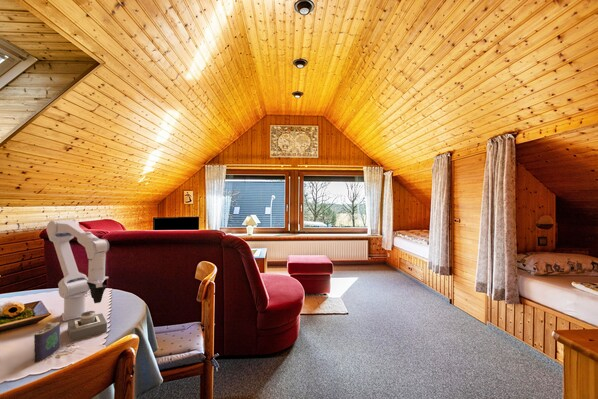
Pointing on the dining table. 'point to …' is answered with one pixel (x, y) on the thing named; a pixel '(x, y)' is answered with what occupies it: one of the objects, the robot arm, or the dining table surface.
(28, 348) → the dining table surface
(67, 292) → the robot arm
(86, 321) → the lens
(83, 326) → the grey frame block
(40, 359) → the flask
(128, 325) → the dining table surface
